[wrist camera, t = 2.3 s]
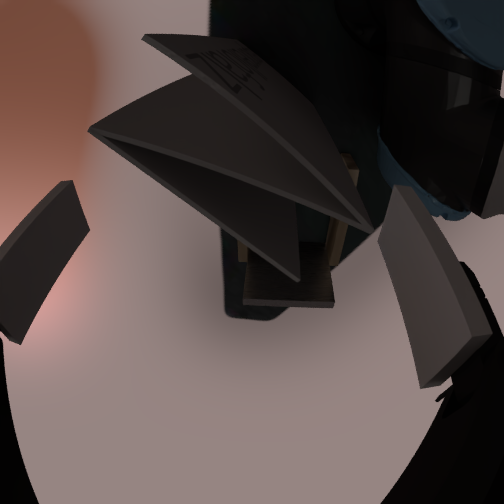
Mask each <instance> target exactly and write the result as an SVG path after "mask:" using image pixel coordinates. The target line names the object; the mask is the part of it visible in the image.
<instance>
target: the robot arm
mask: <svg viewBox="0 0 504 504" xmlns="http://www.w3.org/2000/svg"><path fill="white" fill-rule="evenodd" d="M335 8H336V12H337V15H338V18H339V20H340V22H341V24H342V25H343V27H344V28H345V30H346V31H347V32H348V34H349V35H350V36H351V37H352V38H353V39H354V40H355V41H356V42H358V43H359V44H360V45H362V46H363V47H365V48H366V49H368V50H370V51H372V52H374V53H376V54H379V55H382V56H386V58H385V75H384V88H383V99H382V108H381V117H380V123H379V124H378V129H377V134H378V138H379V140H378V150H377V164H378V167H379V169H380V172H381V174H382V176H383V178H384V179H385V181H386V182H387V183H388V185H389V186H390V187H391V188H392V189H393V191H392V194H391V198H390V202H389V205H388V209H387V212H386V216H385V219H384V222H383V226H382V229H381V232H380V235H379V238H378V243H379V246H380V249H381V252H382V255H383V257H384V260H385V263H386V266H387V268H388V271H389V274H390V277H391V280H392V283H393V286H394V289H395V292H396V295H397V299H398V302H399V305H400V309H401V312H402V315H403V319H404V323H405V326H406V330H407V333H408V337H409V341H410V345H411V348H412V353H413V357H414V361H415V366H416V371H417V375H418V380H419V384H420V389H422V388H429V387H434V386H440V385H441V384H442V383H443V382H445V381H446V380H447V379H448V378H449V377H450V376H451V379H452V383H453V385H451V386H450V387H449V388H448V389H447V390H445V391H444V392H443V393H442V394H440V395H439V396H438V398H437V399H436V400H435V401H436V402H439V401H440V400H441V399H443V398H444V397H445V398H444V400H443V402H442V404H441V406H440V408H439V410H438V412H437V415H436V417H435V419H434V421H433V422H432V425H431V426H430V428H429V430H428V432H427V434H426V436H425V437H424V439H423V441H422V443H421V445H420V446H419V448H418V450H417V451H416V453H415V455H414V456H413V458H412V459H411V461H410V463H409V464H408V466H407V467H406V469H405V470H404V472H403V473H402V475H401V476H400V478H399V479H398V481H397V482H396V483H395V485H394V486H393V488H392V489H391V490H390V492H389V493H388V495H387V496H386V497H385V499H384V500H383V501H382V502H381V504H504V336H503V334H502V332H501V329H500V327H499V325H498V322H497V320H496V317H495V315H494V313H493V311H492V309H491V306H490V304H489V302H488V300H487V298H485V294H484V292H483V290H482V288H480V284H479V282H478V280H477V278H476V276H475V274H474V273H473V272H472V270H471V269H470V268H469V267H468V266H467V265H466V264H465V263H464V262H459V261H458V259H457V257H456V255H455V254H454V252H453V250H452V249H451V247H450V245H449V243H448V242H447V240H446V238H445V237H444V235H443V233H442V232H441V230H440V228H439V227H438V225H437V224H436V222H435V221H434V219H433V218H432V216H435V217H439V215H441V216H442V217H443V218H444V219H445V220H450V221H458V220H461V219H464V218H465V217H466V216H467V215H469V214H470V213H471V212H473V213H474V214H476V215H478V216H479V217H481V218H482V219H486V218H489V217H492V216H495V215H498V214H504V98H502V97H501V96H500V90H501V83H502V73H503V70H504V0H335ZM497 89H498V90H497ZM431 215H432V216H431ZM89 231H90V229H89V226H88V224H87V221H86V218H85V215H84V213H83V210H82V207H81V204H80V201H79V198H78V195H77V192H76V189H75V186H74V183H73V180H70V181H61V182H60V183H59V184H57V185H56V186H55V187H54V188H53V189H52V190H51V191H50V192H49V193H48V194H47V195H46V196H45V197H44V198H43V199H42V200H41V201H40V202H39V203H38V204H37V205H36V206H35V207H34V208H33V209H32V210H31V212H30V213H29V214H28V215H27V216H26V217H25V218H24V219H23V220H22V221H21V222H20V224H19V225H18V226H17V227H16V228H15V229H14V230H13V232H12V233H11V234H10V235H9V236H8V238H7V239H6V240H5V241H4V242H3V244H2V245H1V246H0V331H1V332H2V333H3V334H4V335H5V336H6V337H7V338H8V339H9V340H10V341H12V342H14V343H17V344H19V345H21V344H22V341H23V339H24V337H25V335H26V333H27V331H28V329H29V327H30V325H31V324H32V322H33V320H34V318H35V316H36V314H37V312H38V311H39V309H40V307H41V305H42V304H43V302H44V300H45V298H46V297H47V295H48V293H49V291H50V290H51V288H52V286H53V285H54V283H55V282H56V280H57V278H58V277H59V275H60V273H61V272H62V270H63V269H64V267H65V266H66V264H67V263H68V261H69V260H70V258H71V257H72V255H73V254H74V252H75V251H76V249H77V248H78V246H79V245H80V244H81V242H82V241H83V239H84V238H85V236H86V235H87V234H88V232H89ZM0 504H39V503H38V500H37V498H36V495H35V493H34V490H33V488H32V485H31V482H30V480H29V477H28V474H27V471H26V468H25V465H24V462H23V459H22V455H21V452H20V448H19V445H18V441H17V437H16V433H15V428H14V424H13V420H12V415H11V409H10V404H9V398H8V391H7V384H6V375H5V367H4V354H3V342H2V339H1V338H0Z"/></svg>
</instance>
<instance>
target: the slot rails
mask: <svg viewBox="0 0 504 504" xmlns="http://www.w3.org/2000/svg"><path fill="white" fill-rule="evenodd" d="M340 155H341V157H342V159H343V161H344V163H345V165H346V167H347V169H348V172H349V174H350V176H351V178H352V180H353V182H354V184H355V186H356V185H357V180H358V174H359V169H358V167H357V165H356V163H355V162H354V160H353V158H352V156H351V155H350V154H347V153H341V154H340ZM347 227H348V224H347V223H345V222H343V221H340V220H338V219H336V218H334V217H330V222H329V228H328V233H327V238H326V249H327V255H328V261H329V266H338V263H339V259H340V255H341V251H342V247H343V243H344V239H345V235H346V231H347ZM248 254H249V247H247V246H246V245H244V244H243V243H242V242H240V241H239V240H238V258H239V262H248Z"/></svg>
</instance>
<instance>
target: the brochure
mask: <svg viewBox="0 0 504 504" xmlns="http://www.w3.org/2000/svg"><path fill="white" fill-rule="evenodd" d="M141 40H143V41H145V42H146V43H148V44H149V45H151V46H153V47H154V48H156V49H157V50H159V51H160V52H162V53H163V54H165V55H166V56H168V57H169V58H171V59H172V60H174V61H175V62H177V63H178V64H179V65H181V66H182V67H184V68H185V69H187V70H188V71H190V72H191V73H192V74H191V75H189V76H186V77H184V78H182V79H180V80H177V81H175V82H172V83H170V84H168V85H166V86H164V87H162V88H159V89H157V90H155V91H153V92H151V93H149V94H147V95H145V96H143V97H141V98H139V99H137V100H136V101H133V102H132V103H130V104H128V105H126V106H124V107H122V108H121V109H119V110H117V111H115V112H114V113H112V114H110V115H108V116H107V117H105V118H103V119H102V120H100V121H98V122H97V123H95V124H94V125H92V126H90V127H89V129H88V132H89V133H90V134H92V135H93V136H94V137H96V138H97V139H99V140H100V141H101V142H103V143H104V144H106V145H107V146H108V147H110V148H111V149H112V150H114V151H115V152H117V153H118V154H119V155H121V156H122V157H124V158H125V159H126V160H128V161H129V162H131V163H132V164H133V165H135V166H136V167H138V168H139V169H140V170H142V171H143V172H145V173H146V174H147V175H149V176H150V177H152V178H153V179H154V180H156V181H157V182H159V183H160V184H161V185H163V186H164V187H165V188H167V189H168V190H170V191H171V192H172V193H174V194H175V195H176V196H178V197H179V198H181V199H182V200H184V201H185V202H186V203H188V204H189V205H190V206H192V207H193V208H195V209H196V210H197V211H199V212H200V213H201V214H203V215H204V216H206V217H207V218H208V219H210V220H211V221H213V222H214V223H215V224H217V225H218V226H219V227H221V228H222V229H224V230H225V231H226V232H228V233H229V234H231V235H232V236H233V237H235V238H236V239H238V240H239V241H240V242H242V243H243V244H244V245H246V246H247V247H249V248H250V249H251V250H253V251H254V252H256V253H257V254H258V255H260V256H261V257H262V258H264V259H265V260H267V261H268V262H269V263H271V264H272V265H274V266H275V267H276V268H278V269H279V270H280V271H282V272H283V273H285V274H286V275H287V276H289V277H290V278H292V279H293V280H294V281H296V282H299V281H300V280H301V277H300V261H299V246H298V232H297V219H296V207H295V201H296V202H298V203H300V204H303V205H305V206H308V207H310V208H312V209H315V210H317V211H320V212H322V213H324V214H327V215H329V216H331V217H334V218H336V219H338V220H340V221H343V222H345V223H347V224H349V225H352V226H354V227H356V228H358V229H360V230H363V231H365V232H367V233H369V234H371V233H372V232H373V231H374V228H373V226H372V223H371V221H370V218H369V216H368V214H367V211H366V209H365V207H364V204H363V202H362V200H361V198H360V195H359V193H358V191H357V189H356V186H355V184H354V182H353V180H352V178H351V176H350V174H349V172H348V169H347V167H346V165H345V163H344V161H343V159H342V157H341V155H340V153H339V151H338V149H337V147H336V145H335V144H334V142H333V140H332V138H331V136H330V134H329V132H328V130H327V129H326V127H325V125H324V123H323V121H322V119H321V118H320V116H319V114H318V112H317V111H316V109H315V107H314V105H313V104H312V103H311V102H310V101H309V100H308V99H307V98H306V97H305V96H304V95H303V94H302V93H300V92H299V91H298V90H297V89H296V88H295V87H294V86H293V85H292V84H291V83H290V82H288V81H287V80H286V79H285V78H284V77H283V76H282V75H281V74H279V73H278V72H277V71H276V70H275V69H274V68H272V67H271V66H270V65H269V64H268V63H266V62H265V61H264V60H263V59H261V58H260V57H259V56H258V55H257V54H255V53H254V52H253V51H251V50H250V49H249V48H248V47H246V46H245V45H244V44H242V43H241V42H240V41H238V40H236V39H228V38H220V37H210V36H198V35H182V34H145V35H144V36H143V38H142V39H141Z"/></svg>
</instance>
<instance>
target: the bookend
mask: <svg viewBox="0 0 504 504" xmlns="http://www.w3.org/2000/svg"><path fill="white" fill-rule="evenodd" d="M298 246H299V261H300V277H301V280H300V281H299V282H296V281H294V280H293V279H292V278H290V277H289V276H287V275H286V274H285V273H283V272H282V271H280V270H279V269H278V268H276V267H275V266H274V265H272V264H271V263H269V262H268V261H267V260H265V259H264V258H262V257H261V256H260V255H258V254H257V253H256V252H254V251H253V250H251V249H250V248H249V254H248V262H247V270H246V277H245V285H244V293H243V305H260V306H281V307H308V308H309V307H310V308H333V306H334V303H335V300H334V292H333V286H332V279H331V273H330V267H329V261H328V255H327V249H326V243H312V242H298Z"/></svg>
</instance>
